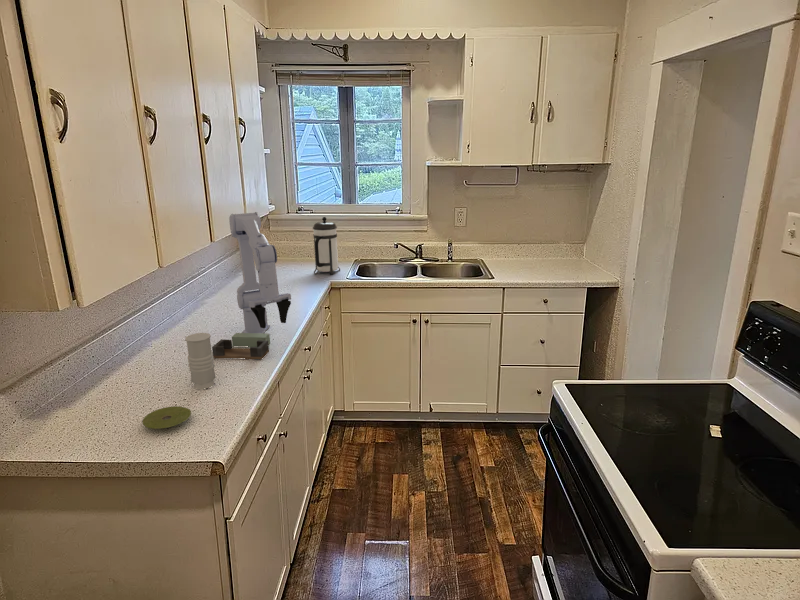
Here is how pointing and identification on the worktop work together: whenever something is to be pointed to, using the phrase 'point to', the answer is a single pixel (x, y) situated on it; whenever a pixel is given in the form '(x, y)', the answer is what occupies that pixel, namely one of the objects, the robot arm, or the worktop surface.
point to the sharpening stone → (249, 339)
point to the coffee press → (325, 246)
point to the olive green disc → (166, 417)
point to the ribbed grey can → (200, 360)
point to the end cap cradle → (240, 350)
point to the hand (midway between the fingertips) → (273, 325)
